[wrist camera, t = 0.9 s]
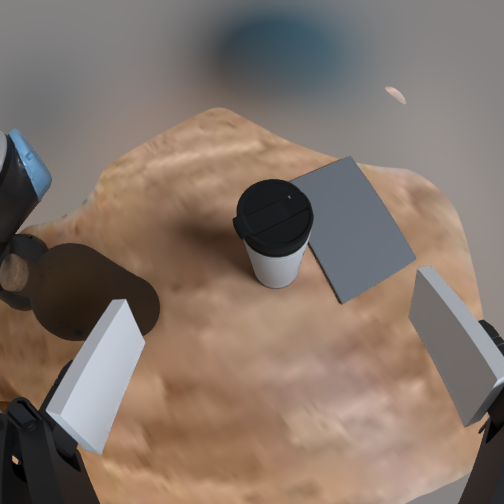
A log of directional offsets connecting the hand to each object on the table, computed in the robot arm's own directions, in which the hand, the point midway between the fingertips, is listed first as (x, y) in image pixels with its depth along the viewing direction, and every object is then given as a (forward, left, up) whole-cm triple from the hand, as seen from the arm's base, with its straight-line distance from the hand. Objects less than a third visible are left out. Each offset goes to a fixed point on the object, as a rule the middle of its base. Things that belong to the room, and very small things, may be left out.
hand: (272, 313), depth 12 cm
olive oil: (-12, -18, -28) cm, 36 cm away
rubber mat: (-9, +17, -28) cm, 34 cm away
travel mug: (-8, +4, -28) cm, 30 cm away
